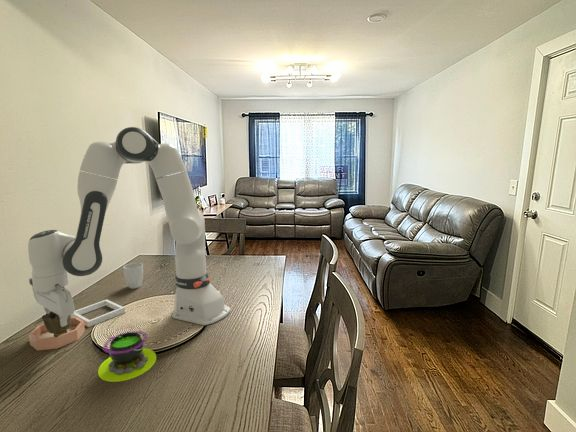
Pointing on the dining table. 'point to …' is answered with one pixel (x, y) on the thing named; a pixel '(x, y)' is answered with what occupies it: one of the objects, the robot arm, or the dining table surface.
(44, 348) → the bowl
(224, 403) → the dining table surface
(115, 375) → the toy cauldron
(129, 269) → the cup
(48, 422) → the dining table surface
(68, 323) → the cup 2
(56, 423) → the dining table surface
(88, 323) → the open white square frame
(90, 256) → the robot arm
